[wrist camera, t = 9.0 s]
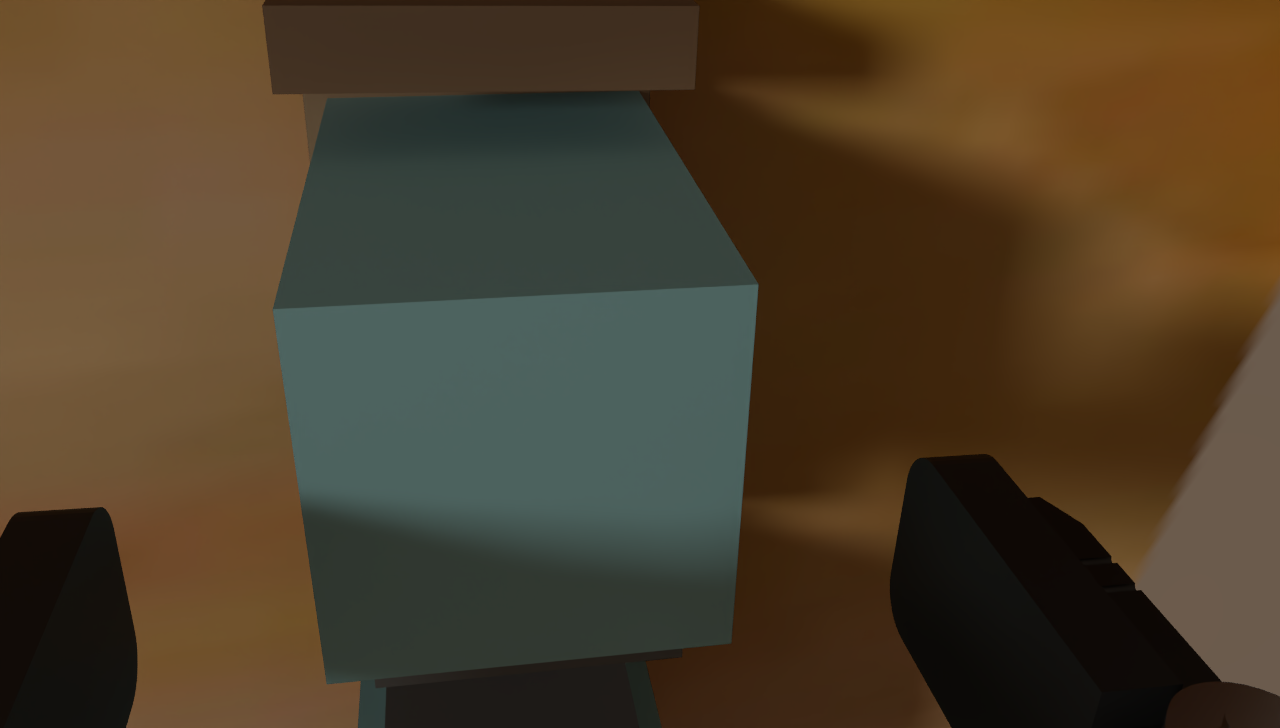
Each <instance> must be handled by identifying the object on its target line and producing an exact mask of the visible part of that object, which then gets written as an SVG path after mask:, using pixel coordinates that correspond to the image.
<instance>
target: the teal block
mask: <svg viewBox="0 0 1280 728" xmlns="http://www.w3.org/2000/svg"><path fill="white" fill-rule="evenodd" d="M758 285H759V284H758V283H757V281H756V280H755V278H754V276H753V275H752V273H751V271H750V270H749V268H748V267H747V265H746V263H745V262H744V260H743V259H742V257H741V255H740V254H739V252H738V250H737V249H736V247H735V246H734V244H733V242H732V241H731V239H730V238H729V236H728V234H727V233H726V231H725V229H724V228H723V226H722V225H721V223H720V221H719V220H718V218H717V217H716V215H715V213H714V212H713V210H712V208H711V207H710V205H709V204H708V202H707V200H706V199H705V197H704V196H703V194H702V192H701V191H700V189H699V187H698V186H697V184H696V183H695V181H694V179H693V178H692V176H691V175H690V173H689V171H688V170H687V168H686V166H685V165H684V163H683V162H682V160H681V158H680V157H679V155H678V153H677V152H676V150H675V149H674V147H673V145H672V144H671V142H670V141H669V139H668V137H667V136H666V134H665V132H664V131H663V129H662V128H661V126H660V124H659V123H658V121H657V120H656V118H655V116H654V115H653V113H652V111H651V110H650V108H649V107H648V105H647V103H646V102H645V100H644V99H643V97H642V95H641V94H640V92H639V91H608V92H567V93H525V94H483V95H442V96H400V97H358V98H327V101H326V104H325V108H324V112H323V116H322V120H321V124H320V128H319V132H318V136H317V139H316V143H315V147H314V151H313V155H312V159H311V163H310V167H309V171H308V174H307V178H306V182H305V186H304V190H303V194H302V198H301V202H300V206H299V209H298V213H297V217H296V221H295V225H294V229H293V233H292V237H291V241H290V244H289V248H288V252H287V256H286V260H285V264H284V268H283V272H282V276H281V279H280V283H279V287H278V291H277V295H276V299H275V303H274V307H273V314H274V321H275V328H276V335H277V342H278V349H279V356H280V363H281V369H282V376H283V383H284V390H285V397H286V404H287V411H288V418H289V425H290V432H291V439H292V446H293V453H294V460H295V467H296V474H297V481H298V487H299V494H300V501H301V508H302V515H303V522H304V529H305V536H306V543H307V550H308V557H309V564H310V571H311V578H312V585H313V592H314V599H315V605H316V612H317V619H318V626H319V633H320V640H321V647H322V654H323V661H324V668H325V675H326V682H327V684H334V683H344V682H354V681H364V680H374V679H375V687H376V688H384V687H394V686H404V685H414V684H423V683H433V682H443V681H453V680H463V679H472V678H482V677H492V676H502V675H512V674H522V673H531V672H541V671H551V670H561V669H571V668H580V667H590V666H600V665H610V664H620V663H630V662H639V661H649V660H659V659H669V658H679V657H682V649H683V648H692V647H702V646H712V645H722V644H731V640H732V627H733V614H734V601H735V588H736V575H737V561H738V548H739V535H740V522H741V509H742V496H743V482H744V469H745V456H746V443H747V430H748V417H749V403H750V390H751V377H752V364H753V351H754V338H755V324H756V311H757V298H758Z"/></svg>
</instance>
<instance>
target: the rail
mask: <svg viewBox="0 0 1280 728" xmlns="http://www.w3.org/2000/svg"><path fill="white" fill-rule="evenodd" d="M262 7H263V15H264V24H265V32H266V41H267V49H268V58H269V66H270V75H271V83H272V92H273V94H303V101H304V110H305V120H306V129H307V139H308V148H309V158H310V163H311V159H312V155H313V151H314V147H315V143H316V139H317V136H318V132H319V128H320V124H321V120H322V116H323V112H324V108H325V104H326V101H327V98H358V97H400V96H442V95H483V94H525V93H567V92H608V91H639V92H640V94H641V95H642V97H643V99H644V100H645V102H646V103H647V105H648V107H649V106H650V90H695V76H696V59H697V41H698V23H699V5H698V4H697V3H696V2H695V1H694V0H265V2H264V4H263V5H262Z"/></svg>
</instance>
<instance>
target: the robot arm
mask: <svg viewBox="0 0 1280 728" xmlns="http://www.w3.org/2000/svg"><path fill="white" fill-rule="evenodd" d="M890 598H891V606H892V612H893V617H894V620H895V624H896V627H897V629H898V632H899V634H900V636H901V638H902V640H903V642H904V644H905V645H906V647H907V649H908V651H909V653H910V654H911V656H912V658H913V660H914V661H915V663H916V665H917V667H918V669H919V670H920V672H921V674H922V676H923V677H924V679H925V681H926V683H927V685H928V686H929V688H930V690H931V692H932V694H933V695H934V697H935V699H936V701H937V702H938V704H939V706H940V708H941V710H942V711H943V713H944V715H945V717H946V719H947V720H948V722H949V724H950V726H951V727H952V728H1280V696H1278V695H1276V694H1273V693H1270V692H1267V691H1265V690H1262V689H1259V688H1255V687H1251V686H1248V685H1244V684H1238V683H1232V682H1222V681H1221V680H1220V679H1219V678H1218V677H1217V676H1216V675H1215V673H1214V672H1213V671H1212V670H1211V669H1210V668H1209V667H1208V665H1207V664H1206V663H1205V662H1204V661H1203V660H1202V659H1201V658H1200V656H1199V655H1198V654H1197V653H1196V652H1195V651H1194V650H1193V648H1192V647H1191V646H1190V645H1189V644H1188V643H1187V642H1186V641H1185V639H1184V638H1183V637H1182V636H1181V635H1180V634H1179V633H1178V631H1177V630H1176V629H1175V628H1174V627H1173V626H1172V625H1171V624H1170V622H1169V621H1168V620H1167V619H1166V618H1165V617H1164V616H1163V614H1162V613H1161V612H1160V611H1159V610H1158V609H1157V608H1156V607H1155V605H1154V604H1153V603H1152V602H1151V601H1150V600H1149V599H1148V597H1147V596H1146V595H1145V594H1144V593H1143V592H1142V591H1141V590H1138V591H1136V589H1135V583H1134V582H1133V580H1132V579H1131V578H1130V577H1129V576H1128V575H1127V574H1126V572H1125V571H1124V570H1123V569H1122V568H1121V567H1120V566H1119V565H1118V563H1112V561H1111V555H1110V554H1109V553H1108V552H1107V551H1106V550H1105V549H1104V548H1103V546H1102V545H1101V544H1100V543H1099V542H1098V541H1097V540H1096V538H1095V537H1094V536H1093V535H1092V534H1091V533H1090V532H1089V531H1088V529H1087V528H1086V527H1085V526H1084V525H1083V524H1082V523H1080V522H1079V521H1077V520H1076V519H1074V518H1072V517H1071V516H1069V515H1068V514H1066V513H1064V512H1063V511H1061V510H1060V509H1058V508H1056V507H1055V506H1053V505H1052V504H1050V503H1048V502H1047V501H1045V500H1044V499H1042V498H1040V497H1034V498H1027V497H1026V496H1025V494H1024V493H1023V492H1022V491H1021V490H1020V488H1019V487H1018V486H1017V485H1016V484H1015V482H1014V481H1013V480H1012V479H1011V478H1010V476H1009V475H1008V474H1007V473H1006V472H1005V470H1004V469H1003V468H1002V467H1001V466H1000V465H999V463H998V462H997V461H996V460H995V459H994V458H993V457H991V456H990V455H987V454H978V455H962V456H946V457H930V458H919V459H917V460H916V461H915V462H914V463H913V465H912V466H911V468H910V471H909V474H908V478H907V483H906V489H905V495H904V501H903V506H902V512H901V518H900V524H899V530H898V535H897V541H896V547H895V553H894V559H893V564H892V570H891V577H890ZM136 682H137V643H136V636H135V630H134V625H133V620H132V615H131V610H130V606H129V601H128V596H127V591H126V586H125V581H124V576H123V571H122V566H121V562H120V557H119V552H118V547H117V542H116V537H115V532H114V528H113V524H112V521H111V518H110V516H109V514H108V512H107V511H106V509H104V508H103V507H97V508H81V509H65V510H49V511H33V512H18V513H16V514H15V515H14V516H12V518H11V519H10V521H9V522H8V524H7V526H6V528H5V530H4V532H3V534H2V536H1V537H0V728H126V725H127V722H128V719H129V715H130V712H131V708H132V705H133V701H134V696H135V690H136Z"/></svg>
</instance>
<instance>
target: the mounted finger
mask: <svg viewBox="0 0 1280 728" xmlns="http://www.w3.org/2000/svg"><path fill="white" fill-rule="evenodd" d="M358 728H662V727H661V723H660V719H659V715H658V711H657V707H656V703H655V698H654V694H653V690H652V686H651V682H650V678H649V674H648V670H647V666H646V662H645V661H639V662H630V663H620V664H610V665H600V666H590V667H580V668H571V669H561V670H551V671H541V672H531V673H522V674H512V675H502V676H492V677H482V678H472V679H463V680H453V681H443V682H433V683H423V684H414V685H404V686H394V687H384V688H376V687H375V679H374V680H364V681H361V687H360V703H359V719H358Z"/></svg>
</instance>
